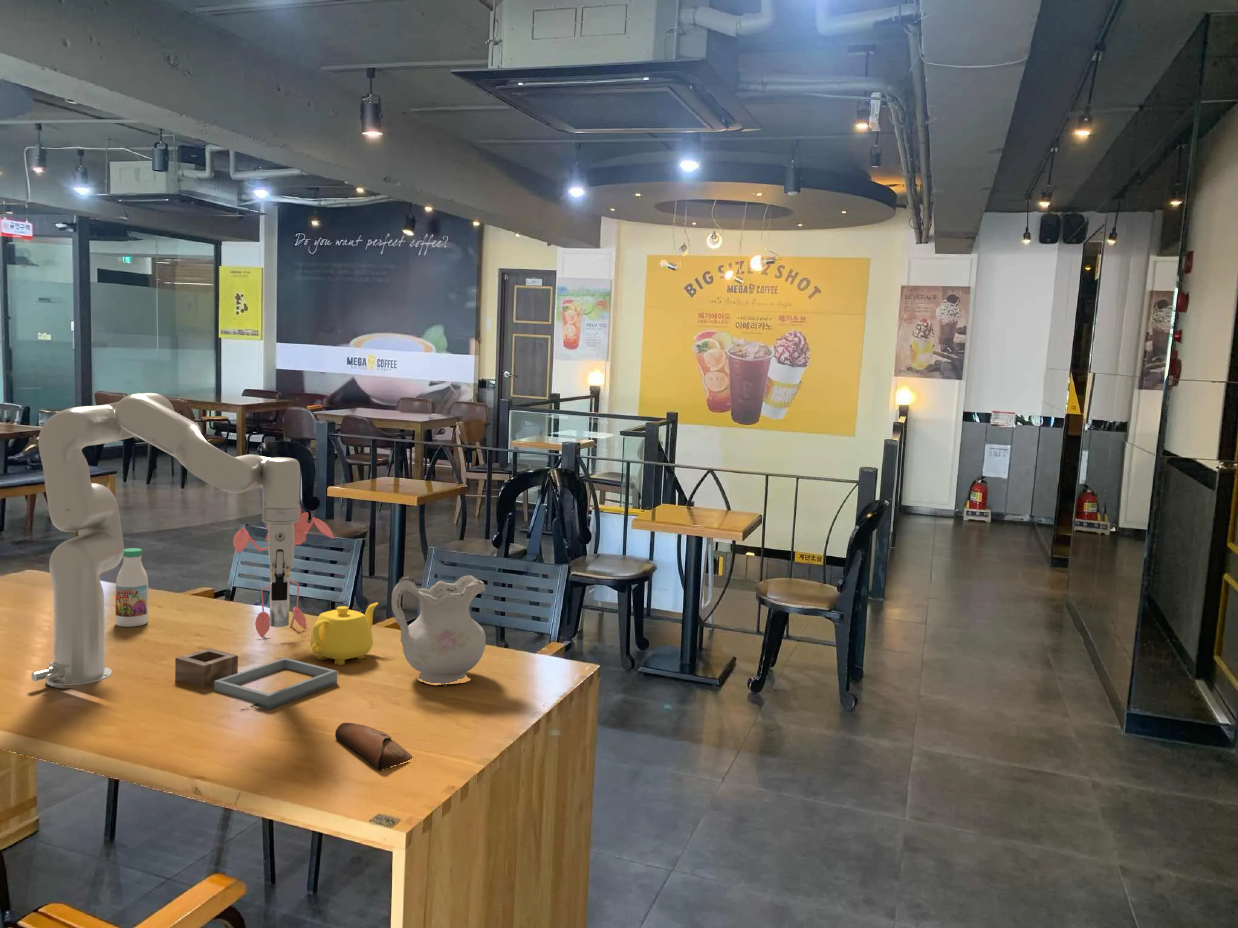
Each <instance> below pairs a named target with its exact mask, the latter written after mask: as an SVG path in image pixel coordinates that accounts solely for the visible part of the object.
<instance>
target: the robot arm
mask: <svg viewBox="0 0 1238 928" xmlns="http://www.w3.org/2000/svg"><path fill="white" fill-rule="evenodd" d="M135 437H136V438H138V439H141V441H143V442H146V443H148V444H149V445H151V446H153V447H156V448H157V449H159V450H160V451H163V452H164V453H167V454H168V455H170V456H172V457H173V458H175V459H176V460H177V461H178V462H179V463H180V465H182V466H183V468H185V469H186V470H187V471H188V472H189V473H191V474H192V475H194V477H196V478H198V479H199V480H202V481H204V483H207V484H209V485H211V486H213V487H215V488H217V489H219V490H221V491H223V492H225V493H229V494H242V493H244V492H247V491H250V490H255V489H258V488H260V489H261V488H262V507H261V508H262V509H261V510H262V512H261V513H262V519H261V521H262V523H265V524H268V530H267V533H268V542H267V547H268V549H267V550H268V562H269V563H268V564H269V568H271V569H273V582H272V598H271V599H272V600H273V601H280V600H287V583H288V582H286V570H287V567H290V570H292V569H293V568H294V566H295V565H294V564H295V562H294V561H295V548H294V523H297V522H299V505H300V491H301V490H300V485H301V484H300V483H301V477H300V476H301V465H300V462H299V460H298V459H296V458H292V457H280V456H279V457H270V456H269V457H267V456H263V455H258V454H243V455H238V456H232V455H230V454H228V453H226V452H225V451H223V450H222V449H220V448H218V447H216V446H214V444H211V443H210V442H208V440H207V439H205V437H204V435H202V429H201V426H200V425H199V424H198V423H197V422H195V421H193V420H191V419H189V417H188V418H187V417H186V416H184V415H181V414H180V413H178V412H176V411H175V408H174V406H173V404H172V403H171V401H170V400H169V399H167V397H165V396H164V395H162V394H160V393H155V392H153V393H152V392H145V393H144V392H141V393H132V394H129V395H126V396H124V397H122V399H120V400H119V401H117V402H116V401H115V402H112V403H106V404H101V405H85V406H82V405H81V406H75V407H69V408H66V409H63V410H61V411H58V412H56V413H55V414H53V415H52V416H50V417H49V418H48V419H47V420H46V421H45V422H44V424H43V425H42V426H41V429H40V431H39V435H38V440H37V441H38V443H37V444H38V451H39V455H40V460H41V465H42V470H43V477H44V487H45V494H46V500H47V507H48V514H49V518H50V521H51V523H52V525H53V526H54V527H55V528H56V529H58V530H59V531H61V532H65V533H67V532H68V533H71V532H72V533H73V532H78V533H77V534H78V536H75V537H72V538H69V539H67V540H65V541H63V542H61V543H60V544H59V545H57V546H56V547H55V549H54V550H52V553H51V554H50V557H49V562H48V563H49V564H48V565H49V566H48V568H49V574H50V578H51V584H52V587H53V588H52V589H53V612H54V616H53V617H54V621H53V623H54V626H53V627H54V633H53V634H54V643H53V644H54V655H53V656H54V661H51V662H49V666H48V667H46V668H45V669H43V670H38V671H34V672H32V673H31V675H30V677H31V680H32V681H33V682H38V681H41V680H44V679H45V682H46V683H45V684H47V685H48V686H49V685H50V687H53V688H55V689H68V687H66V686H78V685H79V686H80V685H87V684H91V683H97V682H100V681H103V680H106V679H108V678H110V677H111V675H112V674H113V670H112V669H111V668H110V667H106V666H105V611H106V610H105V609H106V608H105V593H104V588H103V585H102V583H101V579H100V575H102V574H105V573H106V572H107V573H108V572H109V571H112V570H113V569H115V568H117V566H118V565H120V563H121V561H122V559H123V558H122V557H123V553H124V549H125V548H124V547H125V545H124V538H123V537H124V535H123V531H122V530H123V529H122V522H121V517H120V509H119V505H118V501H117V498H116V496H115V494H114V493H113V492H112V491H111V490H110V489H109V488H108V487H106V486H105V485H103V484H100V483H95V482H94V483H93V482H92V480H91V473H90V472H91V471H90V467H89V463H88V461H87V458H86V457H85V454H84V453H83V451H82V450H83V449H84V448H86V447H88V446H97V445H105V444H110V443H114V442H119V441H123V440H127V439H131V438H135ZM275 565H277V568H275ZM283 565H285V568H283ZM283 571H284V572H283ZM275 581H276V582H275Z"/></svg>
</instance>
